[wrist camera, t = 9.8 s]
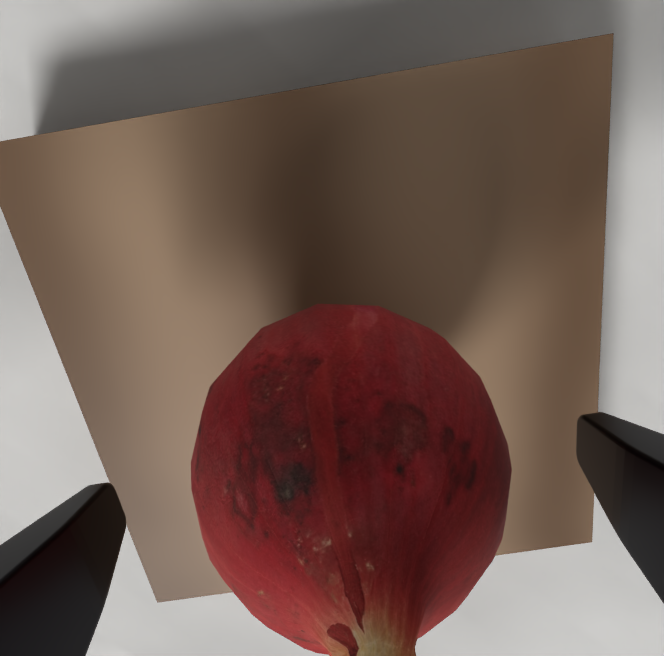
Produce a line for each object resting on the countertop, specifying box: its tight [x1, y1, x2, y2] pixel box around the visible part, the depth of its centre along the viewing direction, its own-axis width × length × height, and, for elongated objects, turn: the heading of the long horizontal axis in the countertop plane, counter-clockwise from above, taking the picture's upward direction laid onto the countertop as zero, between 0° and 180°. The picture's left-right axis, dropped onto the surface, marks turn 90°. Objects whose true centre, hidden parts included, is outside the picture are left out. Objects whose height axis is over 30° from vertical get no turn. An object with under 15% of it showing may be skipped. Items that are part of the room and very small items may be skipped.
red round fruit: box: [191, 304, 512, 656], centre depth 9 cm, size 6×6×8 cm
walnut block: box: [0, 33, 613, 603], centre depth 14 cm, size 14×14×3 cm
